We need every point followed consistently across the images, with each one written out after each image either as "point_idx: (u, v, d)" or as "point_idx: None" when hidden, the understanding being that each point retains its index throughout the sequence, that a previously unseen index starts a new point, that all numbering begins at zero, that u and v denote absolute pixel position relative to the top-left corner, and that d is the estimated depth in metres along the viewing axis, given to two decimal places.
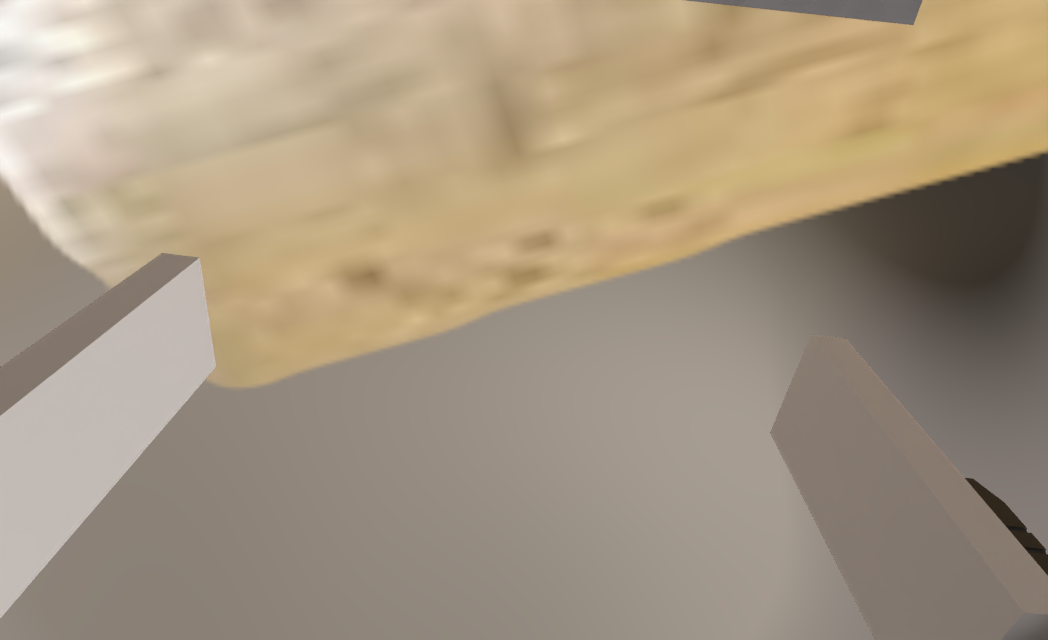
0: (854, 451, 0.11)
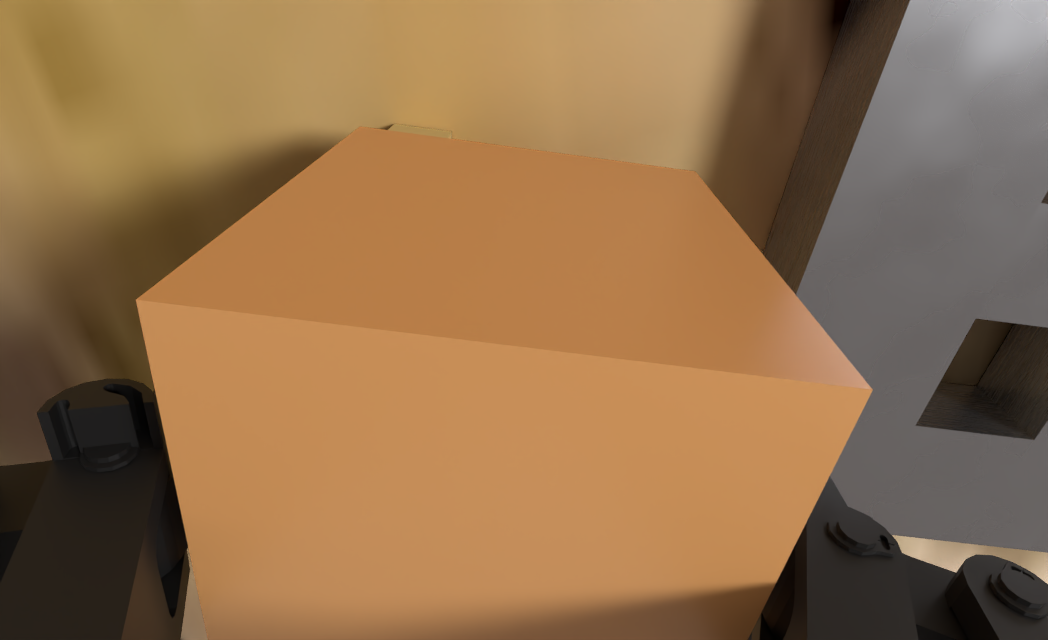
0: None
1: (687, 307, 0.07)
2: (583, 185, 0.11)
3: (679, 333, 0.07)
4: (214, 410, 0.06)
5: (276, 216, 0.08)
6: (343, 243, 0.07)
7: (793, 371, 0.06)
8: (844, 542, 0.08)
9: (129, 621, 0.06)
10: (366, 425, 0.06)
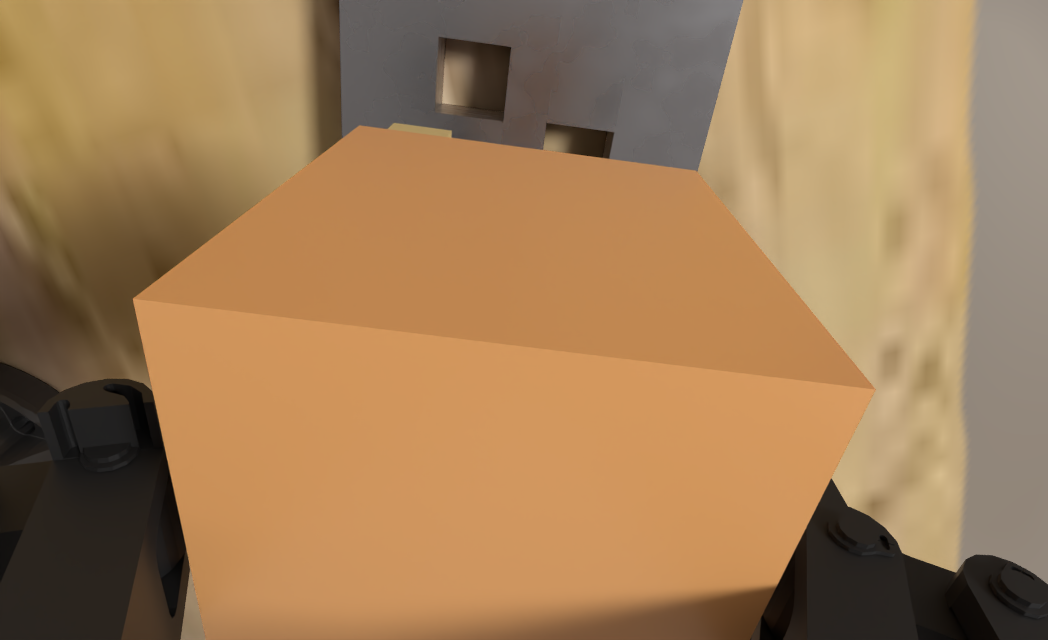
0: None
1: (689, 307, 0.07)
2: (583, 184, 0.11)
3: (681, 333, 0.06)
4: (212, 410, 0.06)
5: (275, 215, 0.08)
6: (342, 241, 0.07)
7: (795, 371, 0.06)
8: (844, 542, 0.08)
9: (129, 621, 0.06)
10: (364, 426, 0.06)
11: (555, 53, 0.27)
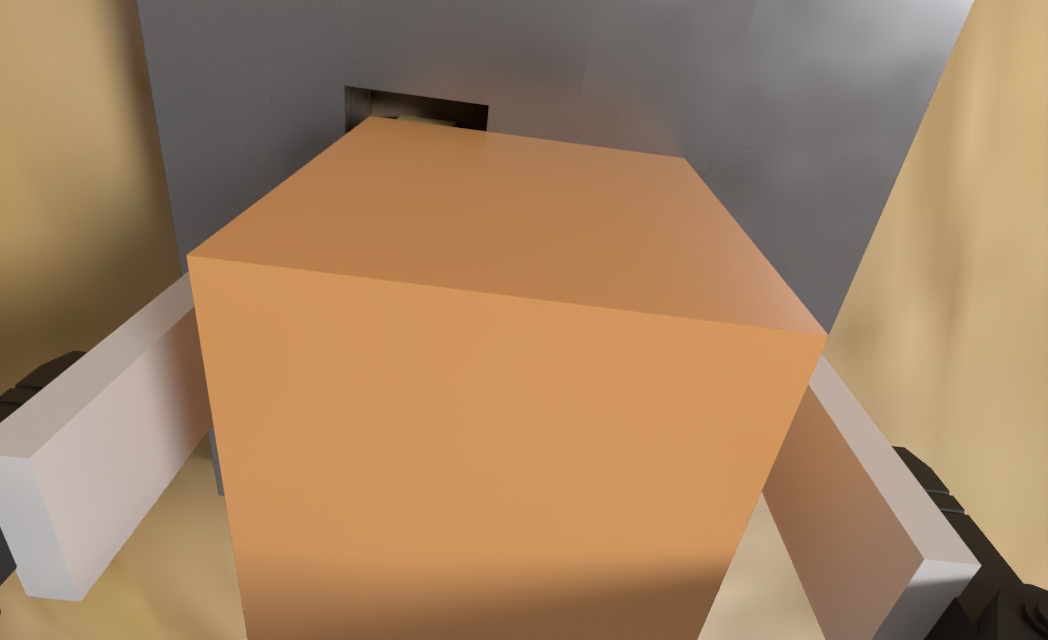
0: (795, 423, 0.11)
1: (670, 269, 0.08)
2: (579, 168, 0.12)
3: (661, 290, 0.07)
4: (251, 356, 0.07)
5: (300, 191, 0.09)
6: (362, 214, 0.08)
7: (760, 321, 0.07)
8: (1045, 629, 0.07)
9: None
10: (385, 370, 0.07)
11: (576, 118, 0.13)
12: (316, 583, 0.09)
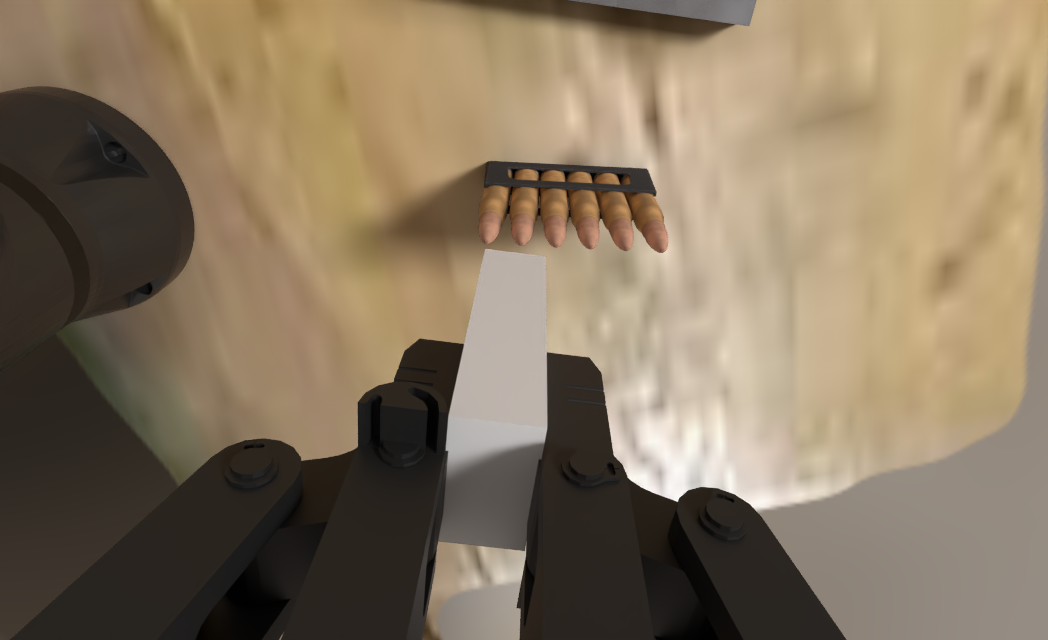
0: None
1: None
2: None
3: None
4: None
5: None
6: None
7: None
8: (576, 478, 0.08)
9: (410, 622, 0.06)
10: None
11: None
12: None
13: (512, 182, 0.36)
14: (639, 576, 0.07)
